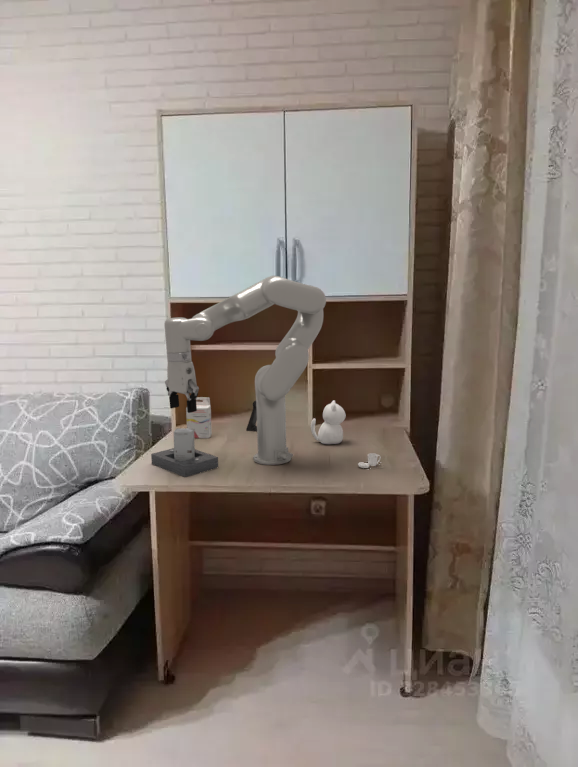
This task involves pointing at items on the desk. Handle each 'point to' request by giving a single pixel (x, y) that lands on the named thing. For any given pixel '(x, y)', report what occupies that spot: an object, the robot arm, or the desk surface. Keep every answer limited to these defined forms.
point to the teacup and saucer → (370, 461)
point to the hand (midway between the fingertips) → (183, 409)
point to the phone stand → (253, 419)
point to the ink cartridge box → (200, 419)
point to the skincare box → (184, 444)
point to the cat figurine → (330, 425)
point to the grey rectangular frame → (184, 462)
